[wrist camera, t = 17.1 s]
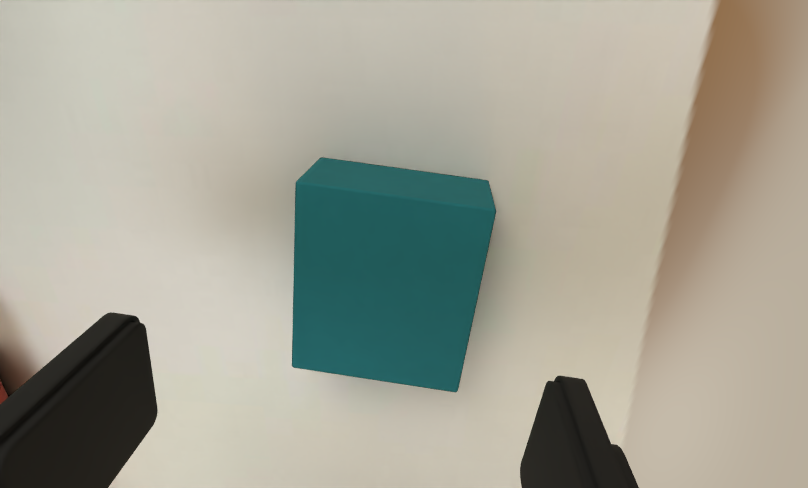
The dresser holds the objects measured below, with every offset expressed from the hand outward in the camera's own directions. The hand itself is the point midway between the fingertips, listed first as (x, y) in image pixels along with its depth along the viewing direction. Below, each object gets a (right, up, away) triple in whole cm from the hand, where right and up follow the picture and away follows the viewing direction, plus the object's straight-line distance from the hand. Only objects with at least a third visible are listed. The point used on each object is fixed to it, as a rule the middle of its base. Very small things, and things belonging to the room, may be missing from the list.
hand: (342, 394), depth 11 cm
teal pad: (+1, +3, +7) cm, 8 cm away
